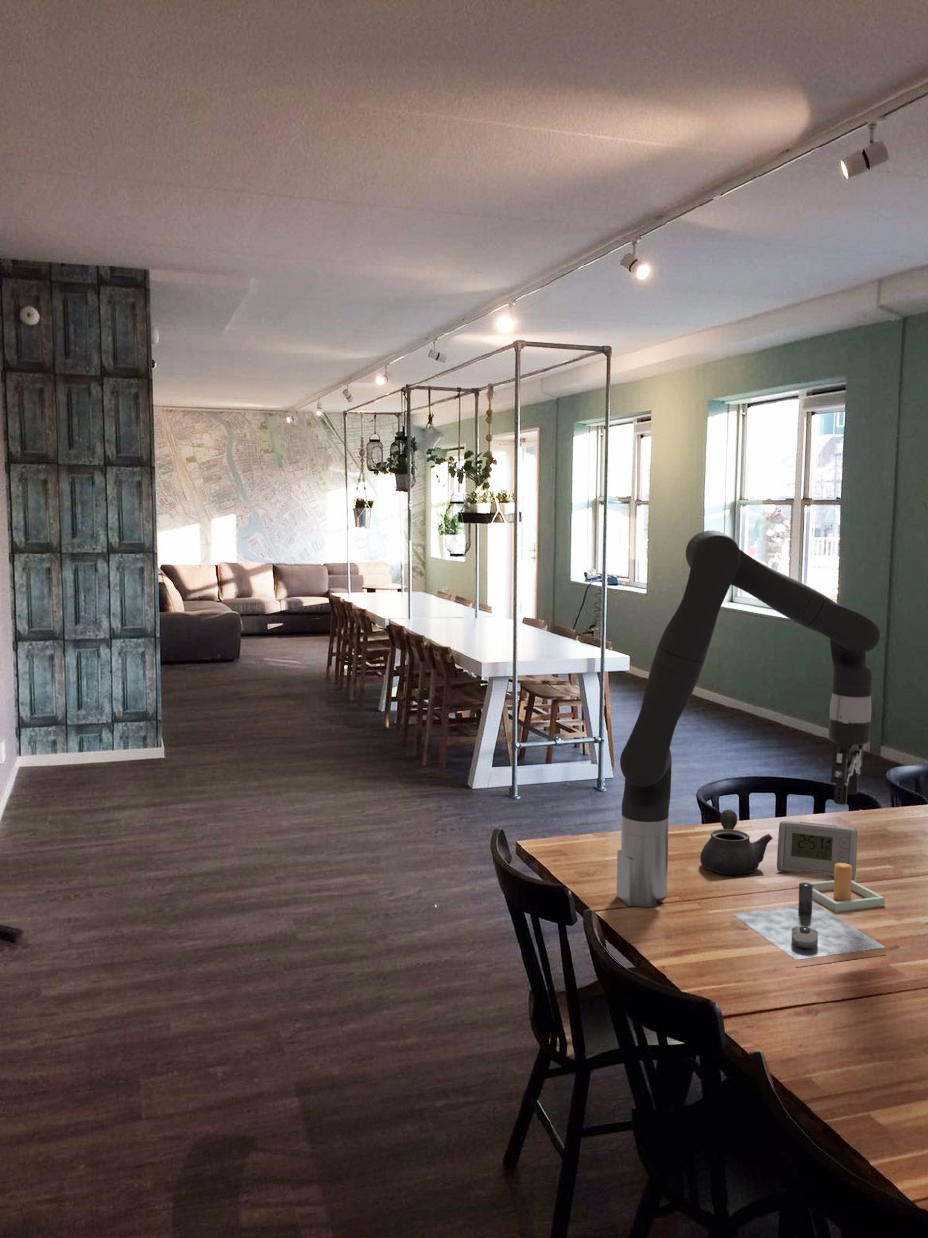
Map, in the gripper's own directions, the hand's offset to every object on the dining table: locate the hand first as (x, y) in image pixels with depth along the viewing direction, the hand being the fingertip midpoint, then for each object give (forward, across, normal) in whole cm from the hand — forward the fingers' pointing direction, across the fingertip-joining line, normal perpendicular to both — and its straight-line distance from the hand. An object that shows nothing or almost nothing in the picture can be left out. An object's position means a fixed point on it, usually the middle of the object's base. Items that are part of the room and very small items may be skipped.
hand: (845, 798), depth 202 cm
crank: (+20, +21, -1) cm, 29 cm away
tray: (+22, 0, 0) cm, 22 cm away
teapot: (+22, -12, -26) cm, 36 cm away
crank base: (+22, +20, -1) cm, 29 cm away
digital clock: (+22, -15, -9) cm, 28 cm away
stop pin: (+21, 0, 0) cm, 21 cm away
